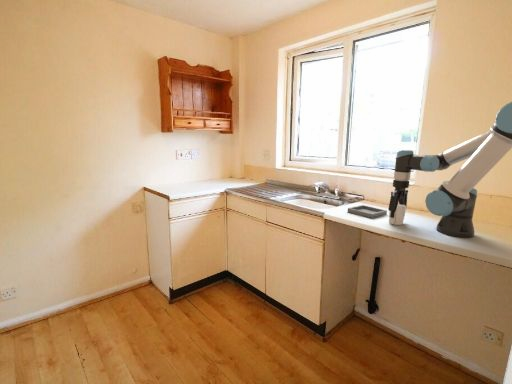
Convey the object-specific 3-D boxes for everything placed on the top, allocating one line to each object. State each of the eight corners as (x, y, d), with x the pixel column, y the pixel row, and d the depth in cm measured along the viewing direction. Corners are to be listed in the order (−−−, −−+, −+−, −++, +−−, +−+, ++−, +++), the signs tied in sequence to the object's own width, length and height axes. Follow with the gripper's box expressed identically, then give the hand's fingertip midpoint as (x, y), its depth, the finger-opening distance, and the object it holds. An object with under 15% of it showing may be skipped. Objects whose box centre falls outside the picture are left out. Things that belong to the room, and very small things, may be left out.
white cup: (406, 226, 144) (408, 207, 142) (389, 224, 146) (392, 206, 144) (401, 221, 152) (403, 203, 150) (386, 220, 153) (388, 202, 151)
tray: (386, 214, 166) (387, 210, 165) (371, 218, 156) (372, 214, 156) (362, 208, 178) (362, 204, 178) (347, 212, 169) (347, 208, 168)
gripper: (403, 177, 153) (398, 217, 158) (384, 180, 141) (379, 223, 145) (417, 179, 147) (411, 220, 152) (399, 182, 135) (393, 227, 140)
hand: (395, 221), depth 149 cm, fingers closed on white cup, 7 cm apart
